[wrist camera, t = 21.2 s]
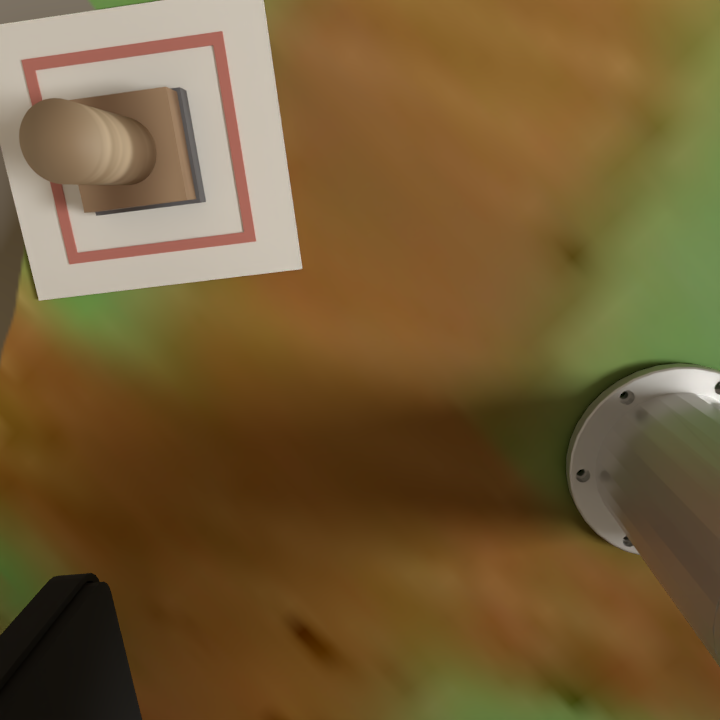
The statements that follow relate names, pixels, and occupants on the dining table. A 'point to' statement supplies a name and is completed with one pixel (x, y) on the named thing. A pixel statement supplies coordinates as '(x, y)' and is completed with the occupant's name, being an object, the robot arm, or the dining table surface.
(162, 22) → the paper sheet
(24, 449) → the dining table surface
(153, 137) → the stamp
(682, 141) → the dining table surface
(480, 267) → the dining table surface
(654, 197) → the dining table surface
